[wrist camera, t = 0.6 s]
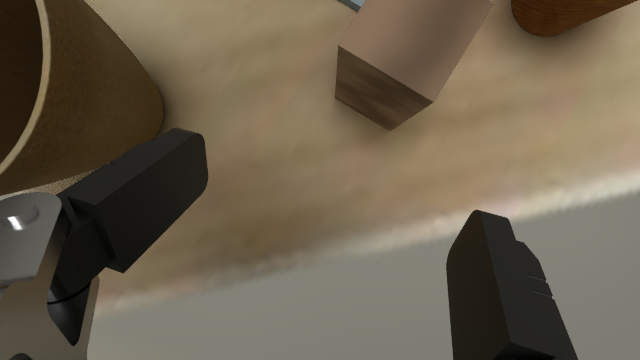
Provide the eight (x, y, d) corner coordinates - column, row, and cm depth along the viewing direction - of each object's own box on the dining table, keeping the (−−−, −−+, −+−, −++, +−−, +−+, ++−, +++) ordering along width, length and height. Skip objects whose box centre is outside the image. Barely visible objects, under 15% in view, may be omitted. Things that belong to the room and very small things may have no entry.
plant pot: (26, 75, 29) (-337, -38, 13) (163, 8, 29) (-47, -194, 13) (91, 215, 30) (-190, 268, 14) (228, 152, 29) (102, 130, 13)
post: (335, 98, 28) (338, 45, 16) (368, 41, 28) (396, -54, 16) (390, 131, 28) (433, 102, 16) (424, 75, 28) (493, 4, 16)
